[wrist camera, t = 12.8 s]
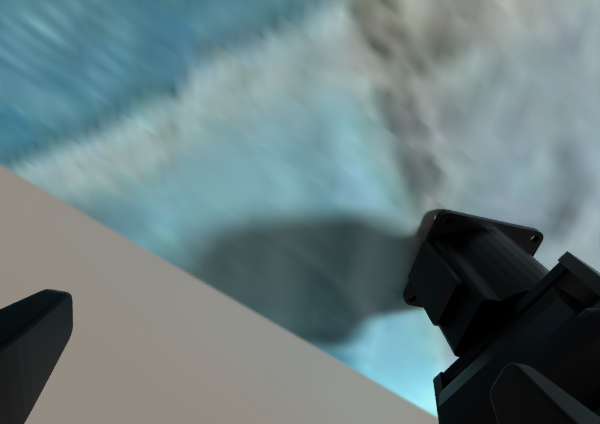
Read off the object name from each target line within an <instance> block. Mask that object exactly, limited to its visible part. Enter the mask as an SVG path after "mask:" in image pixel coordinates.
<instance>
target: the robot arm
mask: <svg viewBox="0 0 600 424" xmlns="http://www.w3.org/2000/svg"><path fill="white" fill-rule="evenodd" d="M446 217H449V219H448V221H446V222H443V220H444V219H445V218H446ZM533 236H534V238H533V239H531V238H532V237H533ZM530 239H531V240H530ZM542 240H543V234H542V233H541V232H539V231H538V230H536V229H534V228H529V227H524V226H520V225H515V224H511V223H506V222H501V221H497V220H492V219H488V218H483V217H478V216H474V215H469V214H465V213H460V212H455V211H451V210H443V211H441V212H440V213H439V214H438V215H437V217H436V219H435V221H434V224H433V226H432V228H431V230H430V233H429V235H428V237H427V240H426V241H425V242H424V243H423V244H422V246H421V248H420V250H419V253H418V255H417V257H416V260H415V262H414V264H413V267H412V269H411V271H410V273H409V276H408V279H409V281H408V283H407V286H406V288H405V290H404V292H403V298H404V301H405V302H406V303H407V304H408V305H413V306H418V307H424V309H425V311H426V313H427V315H428V316H429V318H430V320H431V322H432V324H433V325H434V326H439V327H440V329H441V331H442V333H443V335H444V337H445V338H446V340H447V342H448V344H449V346H450V347H451V349H452V351H453V353H454V355H455V356H457V357H459V358H458V359H457V360H456V361H455V362H454V363H453V364H452V365H451V366H450V367H449V368H448V369H447V370H446V371H445V372H440V373H439V374H438V375H437V376H436V377H435V378H434V379H433V382H434V390H435V397H436V405H437V413H438V420H439V424H600V273H599V272H598V271H596V270H595V269H593V268H592V267H590V266H589V265H587V264H586V263H584V262H583V261H581V260H580V259H578V258H577V257H575V256H574V255H572V254H571V253H569V252H568V251H567V252H566V253H565V254H564V255H562V256H561V257H560V258H559V259H558V261H559V263H558V264H557V265H556V266H555V267H554V268H553V269H552V270H551V271H549V270H548V269H547V268H545V267H544V266H543V265H542V264H541V263H539V262H538V261H537V260H536V259H535V258H534V257H533V256H534V254H535V253H536V251H537V249H538V247H539V246H540V244H541V242H542ZM412 295H414V296H413V297H412V298H409V297H410V296H412ZM72 329H73V308H72V296H71V294H70V293H68V292H64V291H58V290H52V289H46V290H43V291H40V292H38V293H36V294H33V295H31V296H29V297H27V298H24V299H22V300H20V301H18V302H15V303H13V304H11V305H9V306H7V307H4V308H2V309H0V424H24V423H25V421H26V420H27V418H28V416H29V414H30V412H31V411H32V409H33V407H34V405H35V403H36V401H37V399H38V397H39V396H40V394H41V392H42V390H43V388H44V386H45V384H46V382H47V380H48V379H49V377H50V375H51V373H52V371H53V369H54V367H55V365H56V363H57V361H58V360H59V357H60V356H61V354H62V352H63V350H64V348H65V346H66V344H67V343H68V341H69V338H70V336H71V333H72Z"/></svg>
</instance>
